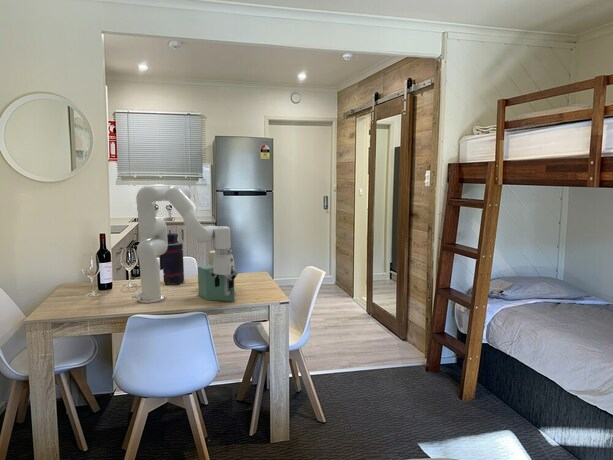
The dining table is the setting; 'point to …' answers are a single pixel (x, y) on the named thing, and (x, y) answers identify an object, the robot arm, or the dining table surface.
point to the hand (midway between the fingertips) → (224, 286)
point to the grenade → (172, 261)
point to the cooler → (203, 279)
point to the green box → (219, 288)
